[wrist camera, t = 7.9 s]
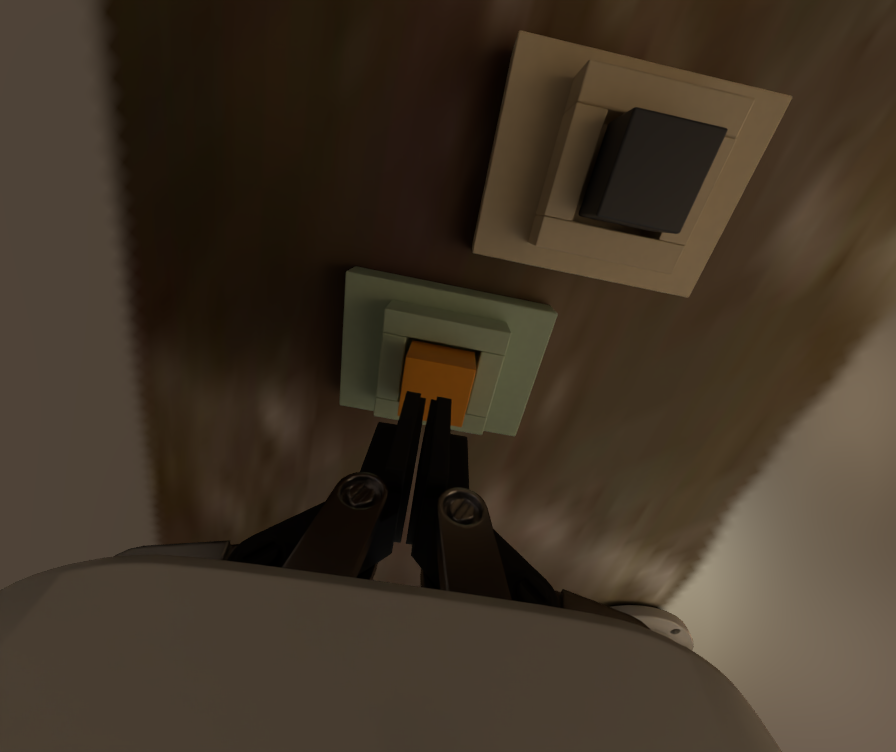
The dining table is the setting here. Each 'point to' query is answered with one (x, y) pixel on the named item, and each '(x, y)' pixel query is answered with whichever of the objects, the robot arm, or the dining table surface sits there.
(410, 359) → the key
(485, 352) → the key block
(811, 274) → the dining table surface
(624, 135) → the key
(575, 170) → the key block
